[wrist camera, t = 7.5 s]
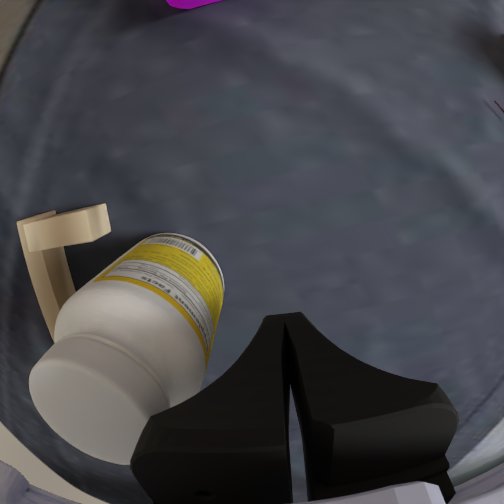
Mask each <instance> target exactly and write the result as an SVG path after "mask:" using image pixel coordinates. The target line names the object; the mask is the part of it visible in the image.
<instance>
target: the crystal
mask: <svg viewBox="0 0 504 504" xmlns="http://www.w3.org/2000/svg"><path fill="white" fill-rule="evenodd" d="M166 1H167V2H168V4H169V5H170V6H173V7H176V8H183V9H192V8H195V7H199V6H202V5H206V4H210V3H214V2H218V1H223V0H166Z"/></svg>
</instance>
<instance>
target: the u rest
mask: <svg viewBox="0 0 504 504" xmlns="http://www.w3.org/2000/svg"><path fill="white" fill-rule="evenodd" d="M17 227H18V231H19V236H20V240H21V244H22V248H23V252H24V256H25V260H26V263H27V267H28V270H29V274H30V277H31V280H32V284H33V287H34V290H35V293H36V296H37V299H38V302H39V305H40V308H41V311H42V313H43V316H44V319H45V321H46V324H47V327H48V329H49V332H50V334H51V337H52V339H53V341H54V330H55V323H56V319H57V316H58V314H59V312H60V310H61V308H62V306H63V305H64V304H65V302H66V301H67V300H68V299H69V298H70V297H71V296H72V295H73V294H74V293H76V291H75V287H74V284H73V281H72V277H71V274H70V270H69V267H68V263H67V259H66V255H65V251H64V247H63V246H68V245H74V244H80V243H86V242H92V241H94V240H96V239H98V238H100V237H102V236H104V235H106V234H107V233H109V232H111V228H110V223H109V218H108V212H107V207H106V203H104V204H100V205H95V206H90V207H86V208H81V209H77V210H73V211H68V212H64V213H60V214H56V211H55V210H54V211H50V212H46V213H42V214H39V215H35V216H32V217H29V218H27V219H24V220H21V221H18V222H17ZM54 344H55V342H54Z"/></svg>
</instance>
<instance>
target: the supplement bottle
mask: <svg viewBox="0 0 504 504" xmlns="http://www.w3.org/2000/svg"><path fill="white" fill-rule="evenodd" d="M223 297H224V280H223V276H222V272H221V269H220V267H219V265H218V263H217V261H216V260H215V258H214V257H213V255H212V254H211V253H210V252H209V251H208V250H207V249H206V248H205V247H204V246H203V245H202V244H200V243H199V242H197V241H196V240H194V239H192V238H190V237H187V236H185V235H181V234H176V233H160V234H155V235H152V236H150V237H147V238H145V239H143V240H142V241H140V242H139V243H137V244H136V245H135V246H133V247H132V248H131V249H130V250H128V251H127V252H126V253H124V254H123V255H122V256H120V257H119V258H118V259H117V260H115V261H114V262H113V263H112V264H110V265H109V266H108V267H106V268H105V269H104V270H103V271H101V272H100V273H99V274H98V275H97V276H95V277H94V278H93V279H92V280H90V281H89V282H88V283H87V284H85V285H84V286H83V287H82V288H80V289H79V290H78V291H77V292H76V293H74V294H73V295H72V296H71V297H70V298H69V299H68V300H67V301H66V302H65V304H64V305H63V306H62V308H61V310H60V312H59V314H58V316H57V319H56V323H55V330H54V342H55V344H54V345H53V346H52V347H51V348H50V349H49V350H48V351H47V352H46V353H45V354H44V355H43V357H42V358H41V359H40V360H39V361H38V362H37V363H36V364H35V366H34V367H33V369H32V371H31V373H30V377H29V390H30V393H31V397H32V399H33V402H34V404H35V406H36V408H37V410H38V411H39V413H40V414H41V416H42V417H43V419H44V420H45V421H46V422H47V423H48V425H49V426H50V427H51V428H52V429H53V430H54V431H55V432H56V433H57V434H59V435H60V436H61V437H62V438H63V439H64V440H66V441H67V442H68V443H70V444H71V445H73V446H74V447H76V448H78V449H79V450H81V451H83V452H85V453H87V454H88V455H91V456H93V457H96V458H98V459H101V460H104V461H107V462H111V463H116V464H123V465H130V460H131V457H132V455H133V452H134V449H135V447H136V444H137V442H138V439H139V437H140V435H141V433H142V430H143V428H144V427H145V425H146V423H147V422H148V420H149V418H150V416H152V415H155V414H157V413H160V412H162V411H164V410H167V409H169V408H171V407H173V406H176V405H178V404H180V403H182V402H184V401H185V400H187V399H189V398H191V397H192V396H194V395H196V394H197V393H199V391H200V389H201V386H202V383H203V380H204V377H205V373H206V369H207V364H208V360H209V356H210V352H211V347H212V343H213V339H214V335H215V331H216V327H217V323H218V319H219V315H220V311H221V307H222V302H223Z"/></svg>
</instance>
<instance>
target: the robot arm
mask: <svg viewBox="0 0 504 504" xmlns="http://www.w3.org/2000/svg"><path fill="white" fill-rule="evenodd" d="M290 385H291V389H292V394H293V398H294V403H295V407H296V412H297V416H298V421H299V425H300V430H301V435H302V443H303V453H304V463H305V473H306V485H307V497H308V502H301V503H293V495H292V479H291V465H290V450H289V404H290ZM458 422H459V418H458V412H457V411H456V409H455V408H454V406H453V405H452V403H451V401H450V400H449V398H448V397H447V395H446V394H445V393H444V391H443V390H442V389H441V388H440V387H439V385H438V384H436V383H431V382H425V381H419V380H414V379H409V378H405V377H401V376H398V375H394V374H391V373H388V372H385V371H382V370H380V369H377V368H375V367H373V366H370V365H368V364H366V363H364V362H362V361H360V360H358V359H356V358H354V357H353V356H351V355H349V354H348V353H346V352H344V351H343V350H341V349H340V348H338V347H337V346H336V345H335V344H333V343H332V342H331V341H330V340H328V339H327V338H326V337H325V336H324V335H323V334H322V333H321V332H319V331H318V330H317V329H316V328H315V327H314V326H313V324H312V323H311V322H310V321H309V320H308V319H307V318H306V317H305V315H304V314H303V313H301V312H295V313H287V314H278V315H268V316H266V317H265V318H264V319H263V321H262V323H261V326H260V327H259V329H258V331H257V333H256V335H255V336H254V338H253V339H252V341H251V342H250V344H249V345H248V347H247V348H246V349H245V351H244V352H243V353H242V355H241V356H240V357H239V358H238V360H237V361H236V362H235V363H234V364H233V365H232V366H231V367H230V368H229V369H228V370H227V371H226V372H225V373H224V374H223V375H222V376H221V377H219V378H218V379H217V380H216V381H214V382H213V383H212V384H210V385H209V386H208V387H206V388H205V389H204V390H202V391H200V392H199V393H197V394H196V395H194V396H192V397H191V398H189V399H187V400H185V401H184V402H182V403H180V404H178V405H176V406H173V407H171V408H169V409H167V410H164V411H162V412H160V413H157V414H155V415H152V416H150V418H149V420H148V422H147V423H146V425H145V427H144V428H143V430H142V433H141V435H140V437H139V439H138V442H137V444H136V447H135V449H134V452H133V455H132V457H131V460H130V469H131V471H132V473H133V475H134V477H135V478H136V479H137V481H138V482H139V484H140V485H141V486H142V488H143V489H144V490H145V491H146V493H147V494H148V495H149V497H150V498H151V499H152V500H153V502H154V504H504V463H502V464H501V465H499V466H497V467H495V468H493V469H491V470H489V471H487V472H486V473H484V474H482V475H480V476H478V477H475V478H473V479H471V480H469V481H467V482H465V483H463V484H460V485H458V486H456V487H453V485H452V483H451V480H450V478H449V476H448V474H447V472H446V471H447V470H448V469H449V463H448V461H447V458H446V456H445V453H446V451H447V449H448V447H449V445H450V443H451V441H452V439H453V436H454V434H455V432H456V429H457V426H458ZM0 504H80V503H77V502H74V501H71V500H68V499H66V498H63V497H60V496H57V495H55V494H52V493H50V492H47V491H45V490H42V489H40V488H37V487H35V486H33V485H30V484H29V482H28V481H27V480H26V478H25V477H24V476H23V475H22V474H21V473H20V472H19V471H18V470H16V469H15V468H13V467H12V466H10V465H8V464H6V463H4V462H2V461H0Z"/></svg>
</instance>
